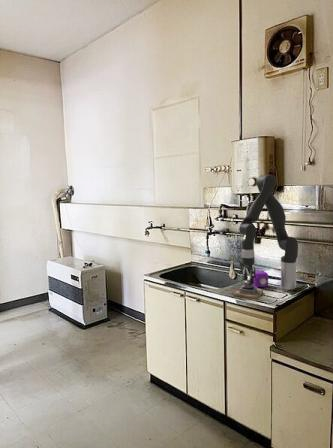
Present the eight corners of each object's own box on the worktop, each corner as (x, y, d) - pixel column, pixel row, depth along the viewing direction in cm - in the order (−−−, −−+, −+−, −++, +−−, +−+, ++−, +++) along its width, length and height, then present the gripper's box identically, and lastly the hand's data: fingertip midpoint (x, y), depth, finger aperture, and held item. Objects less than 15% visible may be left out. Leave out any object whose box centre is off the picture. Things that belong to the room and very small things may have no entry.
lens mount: (241, 289, 221) (241, 283, 220) (263, 292, 213) (263, 286, 213) (233, 295, 209) (233, 289, 209) (255, 299, 201) (255, 292, 201)
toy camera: (258, 290, 219) (258, 274, 218) (247, 284, 232) (247, 270, 231) (273, 288, 222) (273, 273, 221) (262, 282, 235) (262, 268, 234)
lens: (246, 290, 214) (246, 279, 214) (253, 291, 211) (254, 280, 211) (242, 292, 210) (242, 281, 209) (250, 293, 207) (251, 282, 206)
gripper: (259, 257, 202) (259, 284, 204) (248, 253, 216) (249, 278, 218) (247, 259, 201) (248, 286, 203) (237, 254, 215) (238, 280, 216)
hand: (248, 282), depth 210 cm, fingers open, 8 cm apart
